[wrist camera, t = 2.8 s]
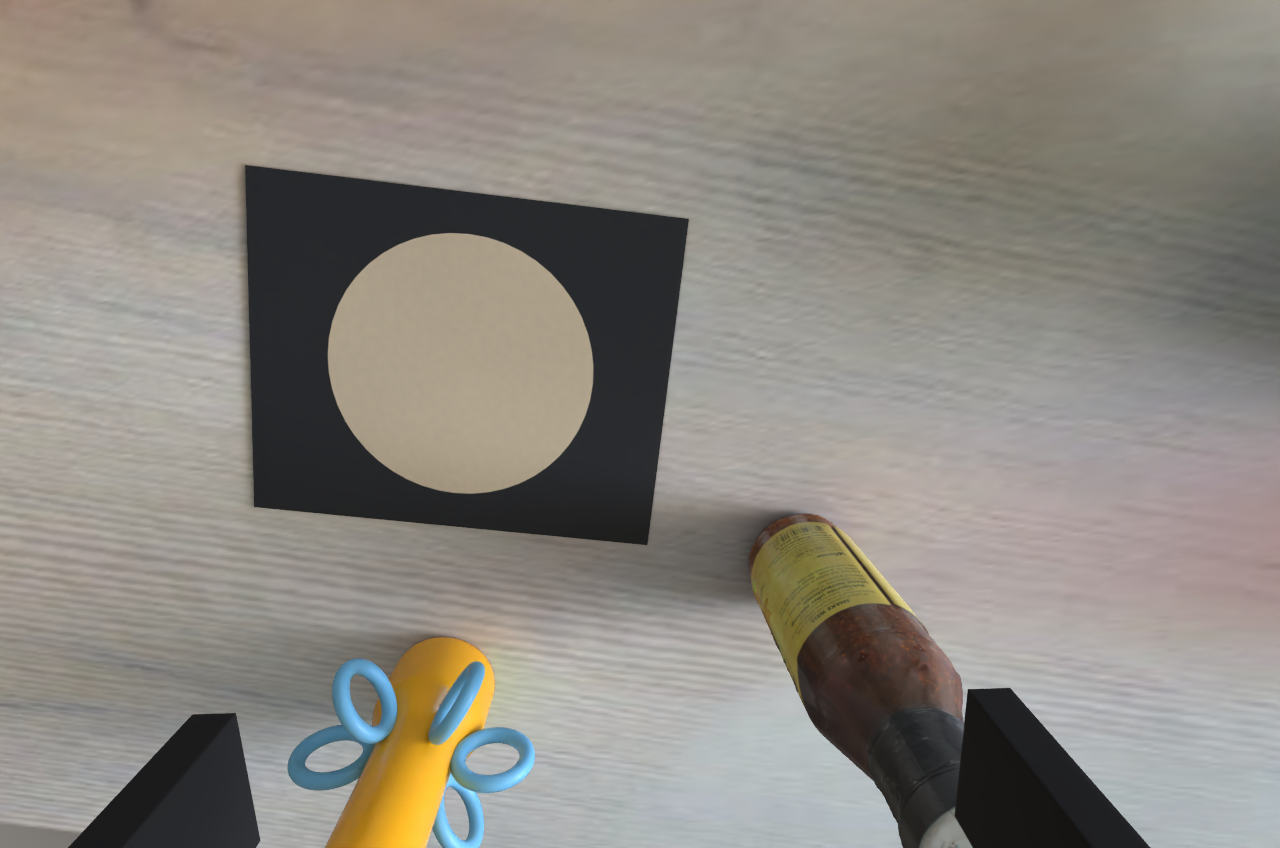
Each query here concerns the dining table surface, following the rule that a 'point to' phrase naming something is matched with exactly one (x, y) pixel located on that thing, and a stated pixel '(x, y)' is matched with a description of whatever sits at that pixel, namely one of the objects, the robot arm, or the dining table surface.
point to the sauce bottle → (865, 671)
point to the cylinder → (414, 748)
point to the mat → (458, 355)
